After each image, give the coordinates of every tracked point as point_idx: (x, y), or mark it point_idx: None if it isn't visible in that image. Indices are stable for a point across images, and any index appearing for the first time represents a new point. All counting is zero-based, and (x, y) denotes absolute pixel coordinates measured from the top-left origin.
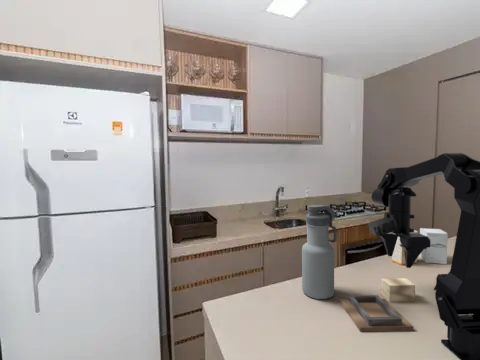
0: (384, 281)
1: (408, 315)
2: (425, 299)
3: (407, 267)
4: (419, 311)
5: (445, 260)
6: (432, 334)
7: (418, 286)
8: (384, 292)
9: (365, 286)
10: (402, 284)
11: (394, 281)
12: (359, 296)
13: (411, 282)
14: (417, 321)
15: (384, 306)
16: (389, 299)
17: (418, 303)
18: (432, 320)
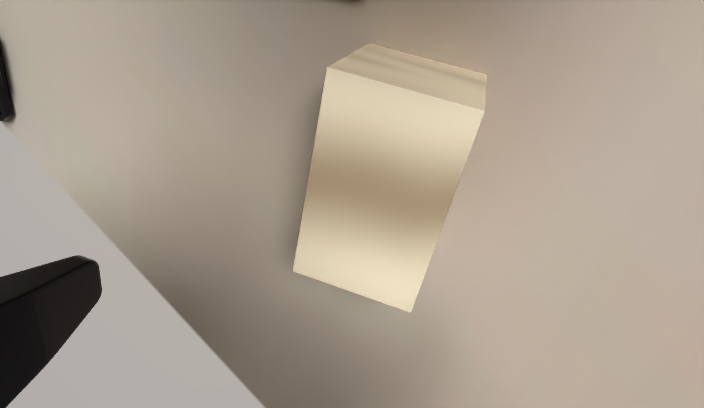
0: (426, 94)
1: (198, 27)
2: None
3: (76, 259)
4: (232, 132)
5: None
6: (42, 3)
7: (472, 374)
8: (435, 68)
9: (671, 31)
10: (319, 193)
11: (389, 181)
12: None
13: (334, 283)
14: (142, 27)
15: None
16: (364, 45)
17: None
18: (152, 119)
